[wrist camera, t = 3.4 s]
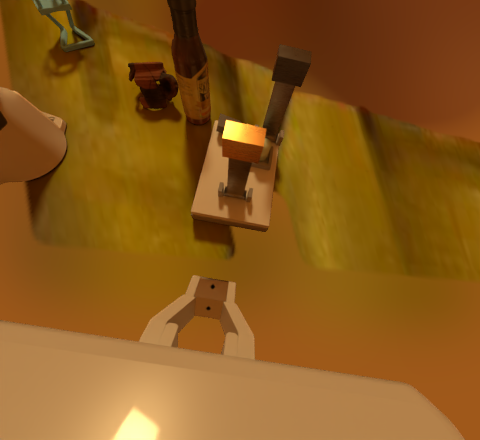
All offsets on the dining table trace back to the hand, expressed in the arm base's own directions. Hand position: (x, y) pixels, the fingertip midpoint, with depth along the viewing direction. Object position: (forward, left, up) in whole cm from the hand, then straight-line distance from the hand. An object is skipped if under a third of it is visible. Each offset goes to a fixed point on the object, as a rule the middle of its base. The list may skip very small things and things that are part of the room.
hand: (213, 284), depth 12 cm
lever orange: (-5, +14, -16) cm, 22 cm away
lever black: (-6, +29, -16) cm, 34 cm away
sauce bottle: (-24, +30, -22) cm, 44 cm away
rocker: (-14, +27, -16) cm, 34 cm away
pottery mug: (-35, +30, -22) cm, 51 cm away
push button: (-5, +24, -17) cm, 30 cm away
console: (-7, +20, -21) cm, 30 cm away
